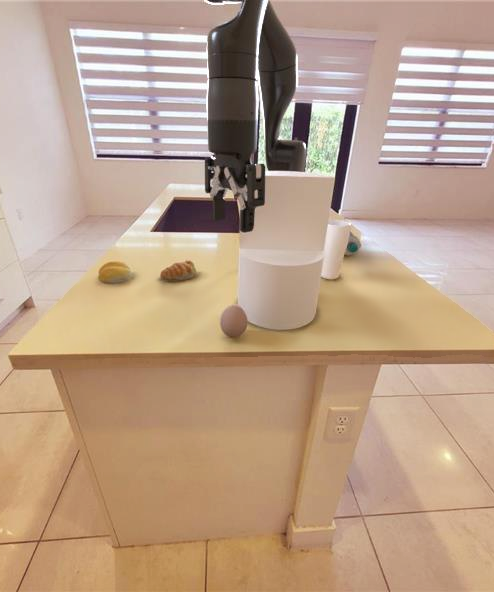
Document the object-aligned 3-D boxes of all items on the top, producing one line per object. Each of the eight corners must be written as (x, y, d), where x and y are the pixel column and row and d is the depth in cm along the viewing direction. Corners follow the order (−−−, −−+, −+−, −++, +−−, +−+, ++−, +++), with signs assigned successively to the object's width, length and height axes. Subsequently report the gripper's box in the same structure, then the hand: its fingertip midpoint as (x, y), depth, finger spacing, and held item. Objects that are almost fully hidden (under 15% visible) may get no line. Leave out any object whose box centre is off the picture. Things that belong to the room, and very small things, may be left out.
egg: (226, 326, 63) (226, 296, 60) (250, 332, 62) (251, 301, 59) (215, 340, 59) (215, 309, 56) (241, 346, 58) (242, 315, 54)
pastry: (167, 285, 79) (166, 271, 78) (156, 277, 84) (154, 263, 82) (199, 276, 85) (198, 263, 83) (186, 269, 89) (185, 256, 88)
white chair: (239, 289, 78) (242, 169, 65) (308, 292, 78) (325, 172, 65) (236, 328, 63) (239, 181, 50) (322, 331, 63) (348, 184, 50)
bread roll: (99, 287, 78) (95, 272, 76) (99, 273, 85) (97, 259, 83) (133, 283, 80) (131, 268, 78) (131, 269, 88) (129, 256, 86)
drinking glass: (345, 276, 87) (356, 222, 80) (333, 283, 83) (343, 227, 76) (324, 269, 91) (332, 218, 84) (311, 276, 87) (319, 222, 80)
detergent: (313, 235, 120) (328, 257, 98) (317, 217, 117) (334, 235, 95) (346, 239, 121) (369, 262, 99) (351, 221, 118) (376, 240, 95)
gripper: (283, 118, 43) (275, 232, 51) (227, 118, 53) (228, 213, 61) (238, 116, 39) (237, 240, 47) (188, 117, 50) (193, 219, 57)
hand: (232, 225), depth 54 cm, fingers open, 8 cm apart
